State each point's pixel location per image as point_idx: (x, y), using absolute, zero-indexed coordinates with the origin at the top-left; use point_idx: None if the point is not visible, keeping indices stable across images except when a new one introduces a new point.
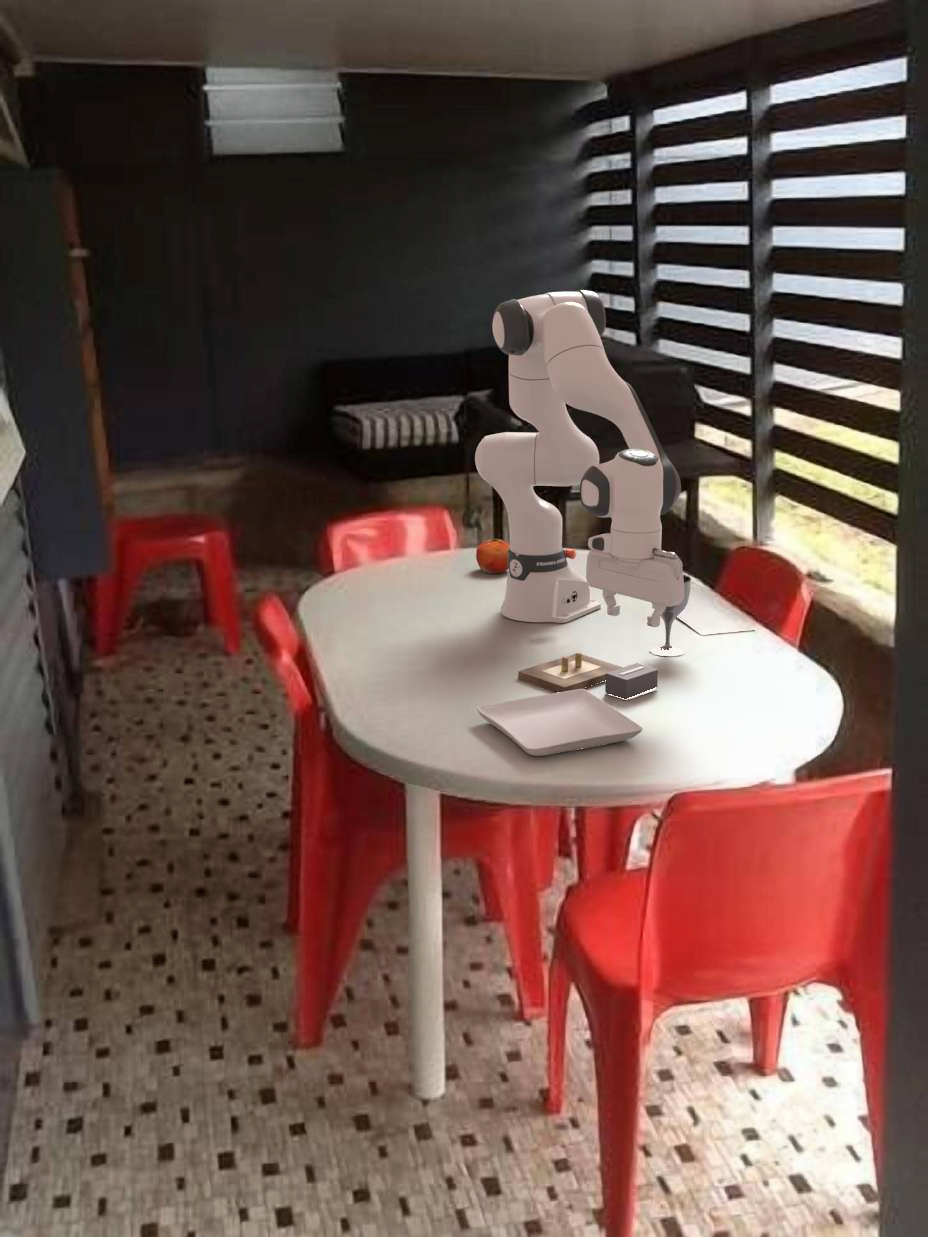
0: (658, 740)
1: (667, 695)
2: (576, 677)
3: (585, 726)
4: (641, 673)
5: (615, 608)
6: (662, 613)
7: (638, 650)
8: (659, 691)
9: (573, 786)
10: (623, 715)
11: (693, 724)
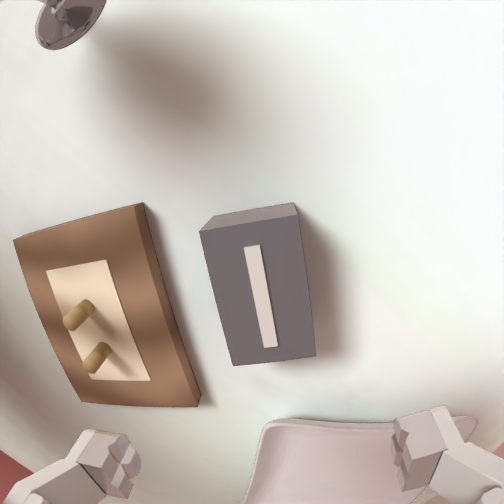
0: (479, 376)
1: (340, 204)
2: (148, 354)
3: (371, 448)
4: (297, 287)
5: (122, 482)
6: (487, 451)
7: (29, 68)
8: (302, 200)
9: None
10: None
11: (490, 283)
